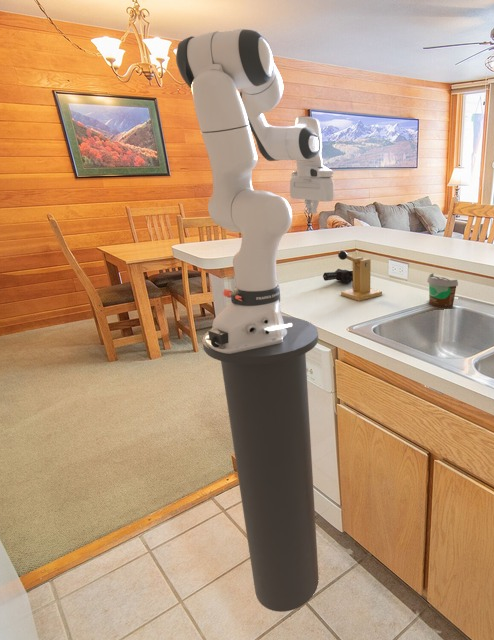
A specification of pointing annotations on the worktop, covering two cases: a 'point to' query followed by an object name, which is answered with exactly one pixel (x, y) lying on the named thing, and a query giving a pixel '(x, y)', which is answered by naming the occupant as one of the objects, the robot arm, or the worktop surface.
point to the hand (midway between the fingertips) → (312, 213)
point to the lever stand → (361, 282)
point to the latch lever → (348, 257)
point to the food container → (441, 291)
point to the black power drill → (339, 275)
